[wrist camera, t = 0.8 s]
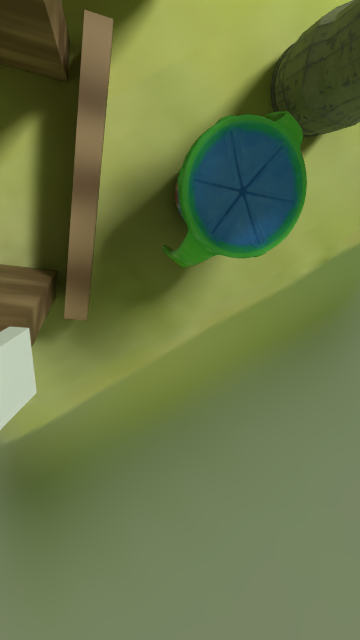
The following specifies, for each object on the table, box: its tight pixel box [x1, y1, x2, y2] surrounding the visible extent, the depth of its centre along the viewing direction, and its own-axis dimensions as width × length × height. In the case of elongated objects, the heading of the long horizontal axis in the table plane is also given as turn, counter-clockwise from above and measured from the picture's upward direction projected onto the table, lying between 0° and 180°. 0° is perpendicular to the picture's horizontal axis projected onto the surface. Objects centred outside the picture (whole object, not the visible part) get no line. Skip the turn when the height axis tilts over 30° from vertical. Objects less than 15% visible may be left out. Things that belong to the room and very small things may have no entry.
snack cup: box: [162, 111, 307, 268], centre depth 30 cm, size 16×10×10 cm
